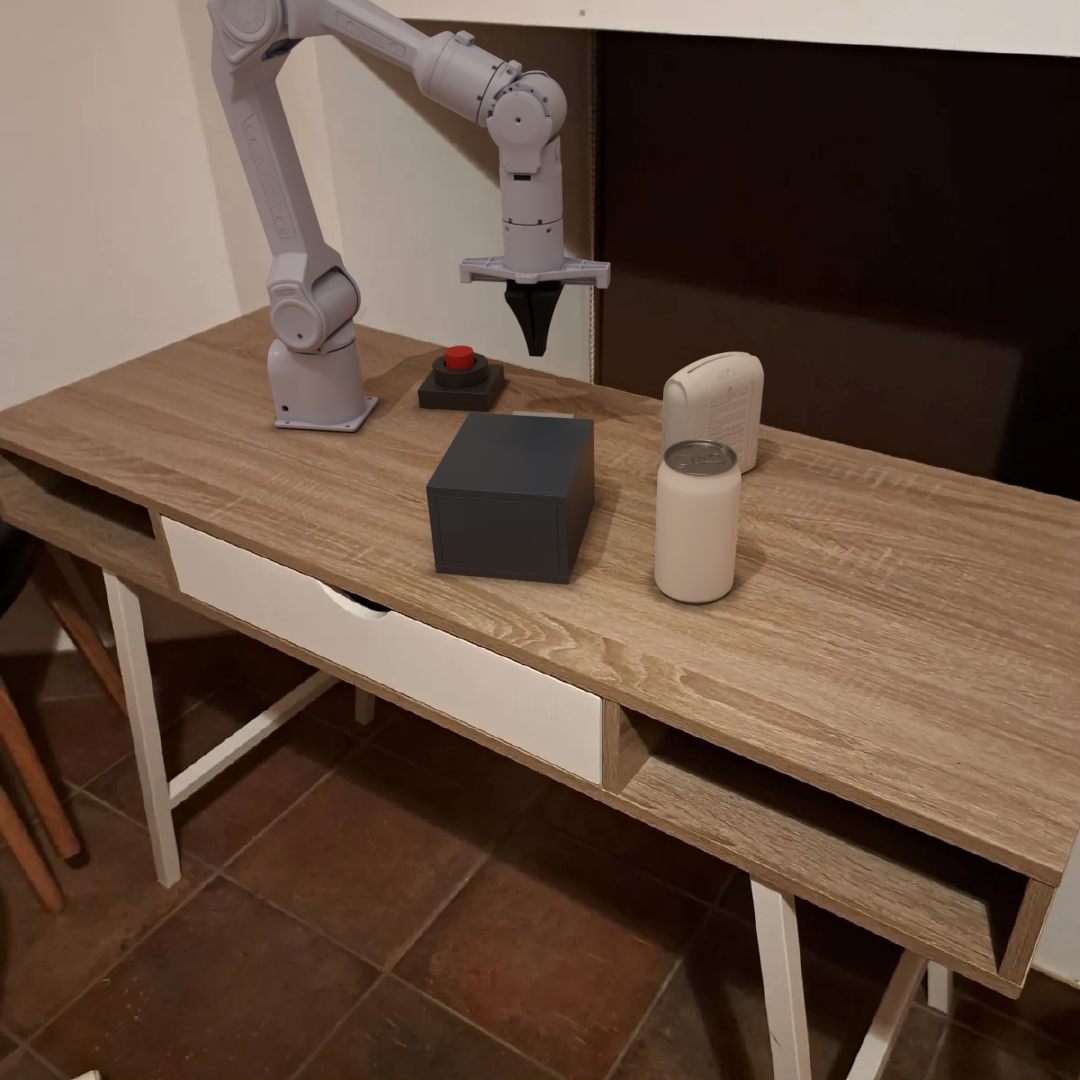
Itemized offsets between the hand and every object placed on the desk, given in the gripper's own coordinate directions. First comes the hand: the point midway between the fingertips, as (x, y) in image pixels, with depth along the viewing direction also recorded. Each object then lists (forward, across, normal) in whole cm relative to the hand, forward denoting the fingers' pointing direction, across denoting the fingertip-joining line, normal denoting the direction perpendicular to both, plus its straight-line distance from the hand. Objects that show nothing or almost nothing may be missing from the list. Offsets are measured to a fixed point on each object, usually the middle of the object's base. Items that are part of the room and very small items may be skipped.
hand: (537, 352), depth 102 cm
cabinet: (+9, +2, -19) cm, 22 cm away
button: (+6, -11, +9) cm, 15 cm away
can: (+9, +18, -24) cm, 32 cm away
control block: (+9, -11, +8) cm, 17 cm away
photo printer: (+9, +18, -6) cm, 21 cm away
